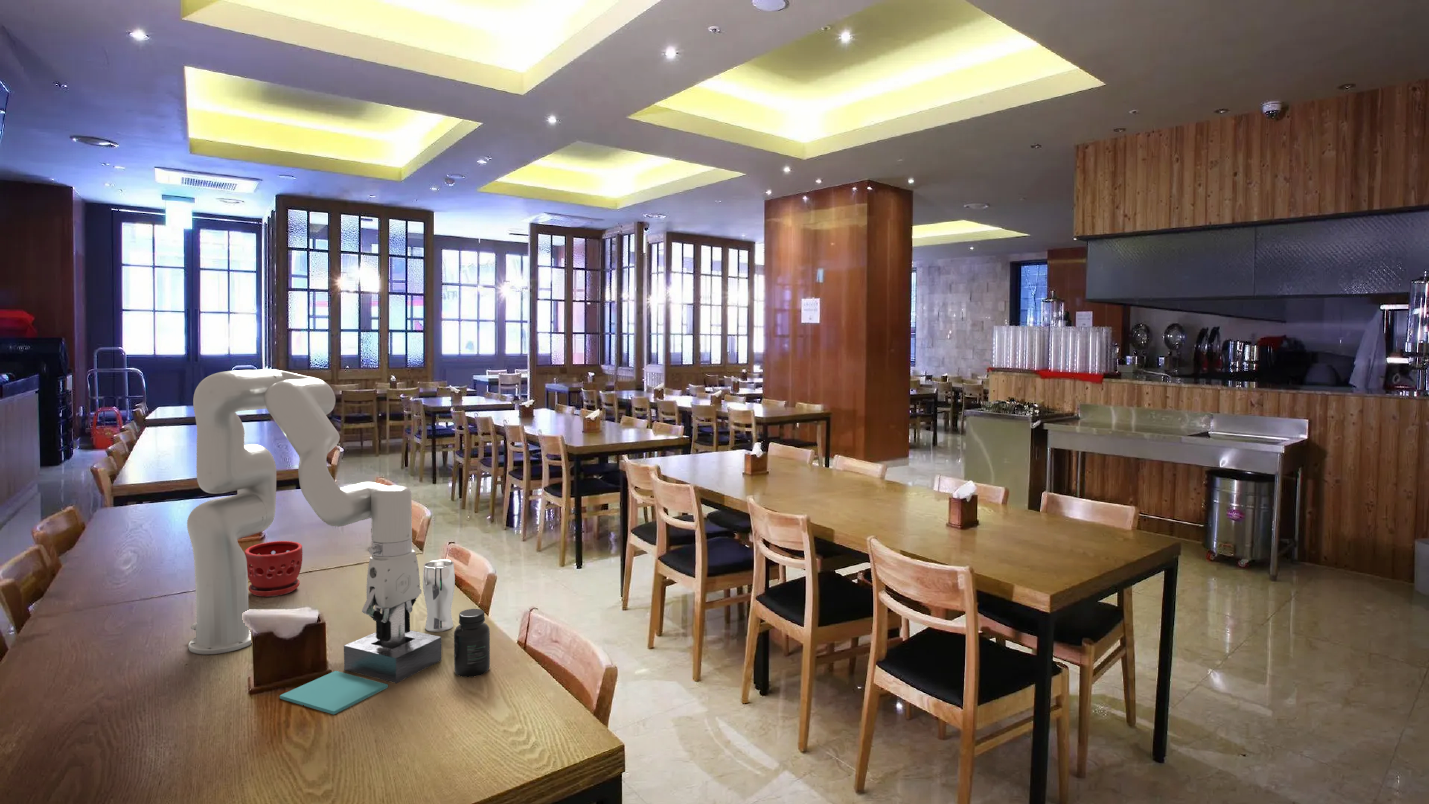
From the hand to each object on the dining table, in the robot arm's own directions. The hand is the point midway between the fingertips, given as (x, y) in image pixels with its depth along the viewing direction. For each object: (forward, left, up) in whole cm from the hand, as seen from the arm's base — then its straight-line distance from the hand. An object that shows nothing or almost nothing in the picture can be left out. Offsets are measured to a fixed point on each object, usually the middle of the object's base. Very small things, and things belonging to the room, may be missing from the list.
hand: (393, 634), depth 156 cm
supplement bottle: (+16, +5, -7) cm, 18 cm away
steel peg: (0, 0, -6) cm, 6 cm away
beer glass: (-7, +20, -7) cm, 22 cm away
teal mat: (0, -14, -6) cm, 15 cm away
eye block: (0, 0, -6) cm, 6 cm away
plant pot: (-63, +20, -7) cm, 66 cm away
